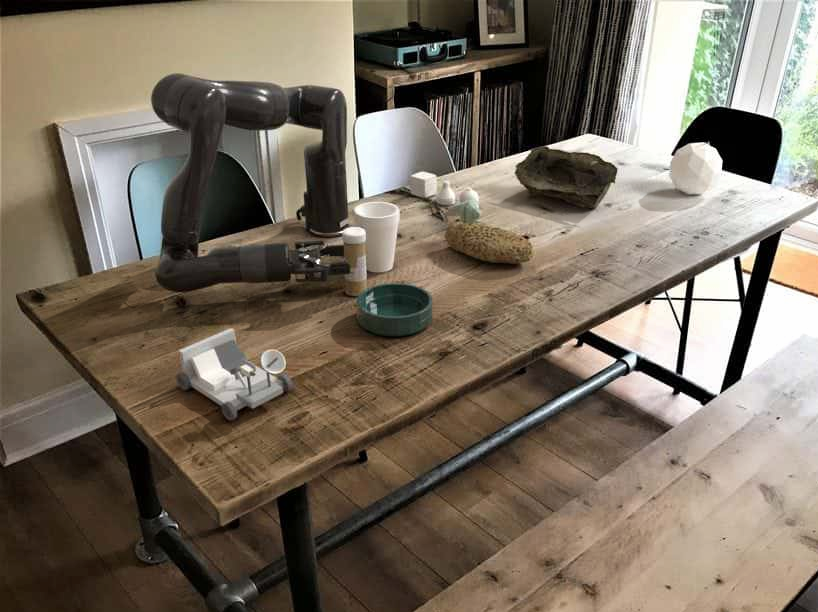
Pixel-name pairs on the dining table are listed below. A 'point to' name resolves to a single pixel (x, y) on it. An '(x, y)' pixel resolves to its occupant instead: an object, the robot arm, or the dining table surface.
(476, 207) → the mint green faceted piece
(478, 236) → the sponge
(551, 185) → the hollow geode rock
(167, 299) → the dining table surface
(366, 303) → the bowl
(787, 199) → the dining table surface
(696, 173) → the geodesic sphere
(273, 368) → the toy car
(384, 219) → the foam cup
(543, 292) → the dining table surface
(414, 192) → the container set
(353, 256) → the sprinkles bottle
